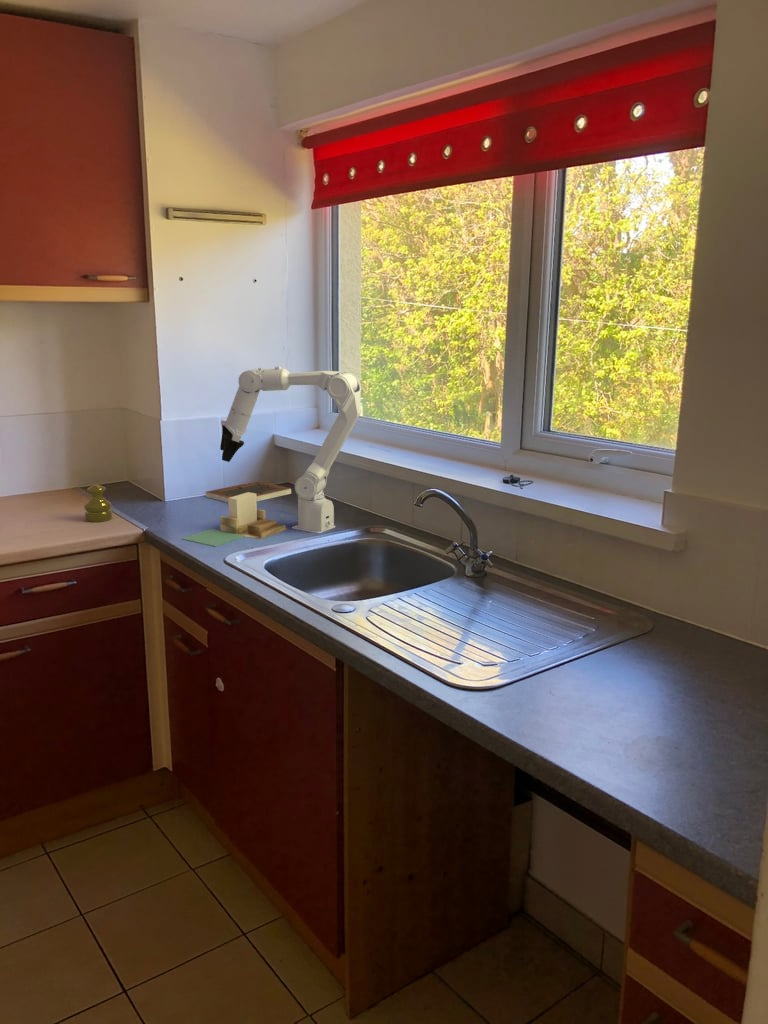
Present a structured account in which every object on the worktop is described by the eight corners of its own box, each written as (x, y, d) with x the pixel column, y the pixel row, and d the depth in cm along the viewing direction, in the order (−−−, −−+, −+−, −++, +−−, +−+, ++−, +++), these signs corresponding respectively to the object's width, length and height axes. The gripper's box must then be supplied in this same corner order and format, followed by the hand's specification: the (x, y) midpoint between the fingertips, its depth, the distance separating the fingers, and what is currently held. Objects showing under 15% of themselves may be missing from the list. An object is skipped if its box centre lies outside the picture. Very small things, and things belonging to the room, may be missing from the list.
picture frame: (238, 507, 255) (291, 495, 270) (238, 499, 254) (291, 487, 270) (205, 498, 265) (258, 487, 281) (205, 491, 265) (257, 480, 280)
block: (257, 525, 232) (256, 493, 230) (237, 531, 225) (236, 499, 223) (249, 523, 234) (248, 492, 231) (229, 530, 227) (228, 497, 225)
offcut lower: (280, 529, 228) (280, 525, 228) (261, 536, 221) (260, 532, 221) (267, 527, 230) (266, 522, 230) (247, 533, 224) (247, 529, 223)
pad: (244, 537, 221) (244, 535, 221) (216, 548, 212) (215, 546, 212) (211, 530, 227) (211, 528, 227) (181, 540, 218) (181, 538, 218)
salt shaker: (116, 516, 241) (114, 482, 239) (105, 523, 234) (103, 488, 232) (92, 515, 242) (89, 481, 240) (80, 522, 235) (77, 487, 232)
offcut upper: (277, 525, 227) (277, 521, 227) (259, 532, 221) (259, 527, 221) (265, 523, 229) (265, 519, 229) (247, 529, 223) (247, 525, 223)
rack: (288, 530, 229) (288, 514, 228) (259, 540, 219) (259, 524, 218) (249, 522, 236) (248, 507, 235) (220, 532, 226) (219, 516, 225)
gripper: (225, 398, 232) (209, 441, 236) (228, 415, 219) (212, 461, 224) (249, 406, 235) (233, 449, 239) (254, 423, 222) (237, 468, 226)
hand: (224, 455), depth 231 cm, fingers open, 7 cm apart
